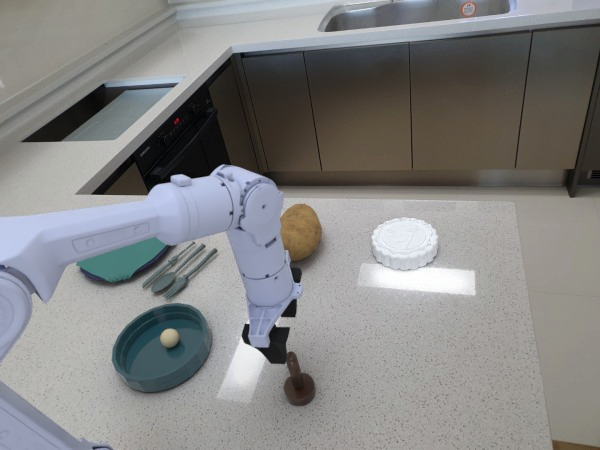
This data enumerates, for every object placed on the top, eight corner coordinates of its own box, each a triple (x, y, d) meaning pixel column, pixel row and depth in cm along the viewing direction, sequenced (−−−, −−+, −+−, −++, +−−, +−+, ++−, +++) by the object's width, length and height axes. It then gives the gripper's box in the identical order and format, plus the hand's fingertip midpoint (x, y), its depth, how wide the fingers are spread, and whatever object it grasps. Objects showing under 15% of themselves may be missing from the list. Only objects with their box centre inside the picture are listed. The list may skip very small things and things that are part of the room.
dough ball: (171, 354, 74) (165, 342, 72) (160, 346, 76) (153, 334, 74) (185, 341, 76) (179, 329, 74) (174, 334, 78) (168, 322, 76)
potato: (330, 227, 95) (325, 195, 90) (317, 274, 84) (310, 241, 79) (285, 226, 98) (277, 195, 93) (267, 272, 87) (258, 240, 82)
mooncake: (385, 224, 92) (384, 210, 90) (445, 235, 87) (446, 220, 85) (362, 262, 85) (360, 248, 83) (426, 277, 79) (426, 262, 77)
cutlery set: (135, 217, 110) (132, 209, 109) (227, 249, 95) (224, 240, 93) (64, 269, 98) (59, 261, 97) (155, 316, 82) (150, 307, 81)
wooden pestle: (303, 411, 63) (292, 373, 58) (279, 396, 65) (266, 358, 60) (322, 387, 65) (313, 348, 60) (298, 373, 68) (287, 335, 63)
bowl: (158, 411, 67) (150, 398, 65) (102, 365, 75) (93, 352, 73) (231, 338, 75) (225, 324, 73) (173, 305, 84) (166, 291, 82)
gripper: (284, 309, 47) (304, 386, 55) (305, 223, 58) (319, 297, 66) (219, 309, 49) (249, 384, 57) (252, 225, 60) (272, 297, 68)
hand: (283, 337), depth 62 cm, fingers open, 7 cm apart
